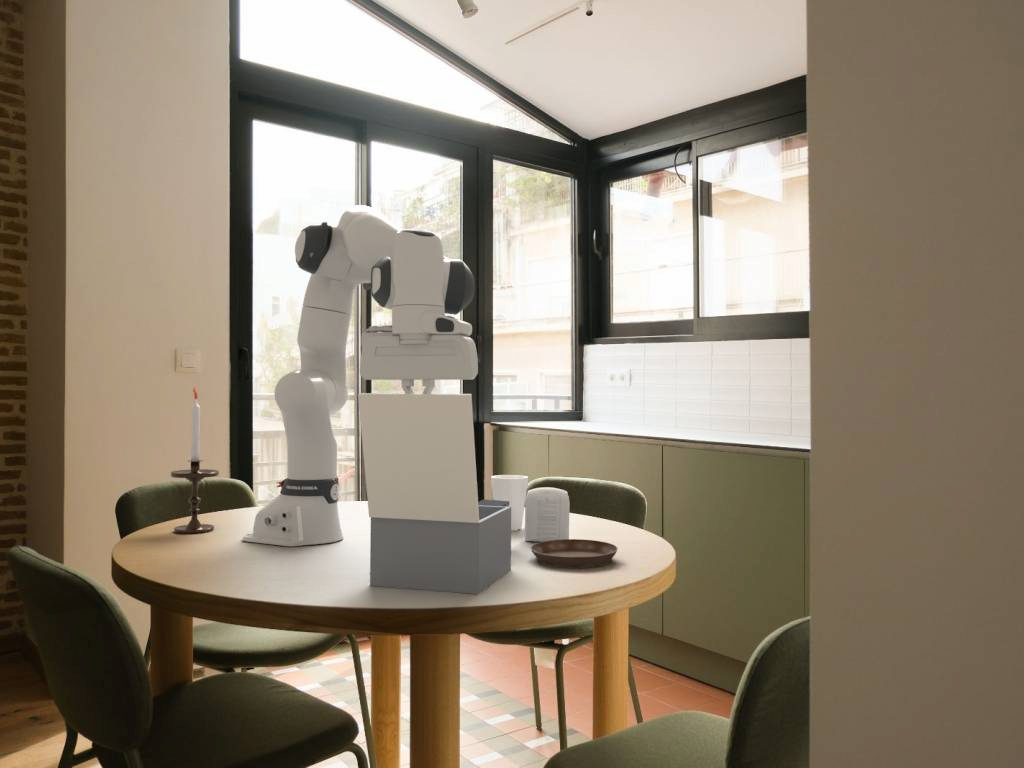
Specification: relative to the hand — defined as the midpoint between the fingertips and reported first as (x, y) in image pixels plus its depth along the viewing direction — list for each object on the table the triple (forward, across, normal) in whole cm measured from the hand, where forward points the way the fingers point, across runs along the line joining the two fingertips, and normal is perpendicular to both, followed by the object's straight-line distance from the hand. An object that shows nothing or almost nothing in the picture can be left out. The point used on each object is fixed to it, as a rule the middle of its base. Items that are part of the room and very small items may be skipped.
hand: (418, 407), depth 133 cm
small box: (+32, +1, +39) cm, 51 cm away
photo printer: (+32, +10, +54) cm, 64 cm away
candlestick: (+32, -75, +42) cm, 91 cm away
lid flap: (+8, 0, +1) cm, 9 cm away
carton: (+32, 0, +13) cm, 34 cm away
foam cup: (+32, -3, +68) cm, 75 cm away
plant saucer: (+32, +20, +35) cm, 52 cm away
